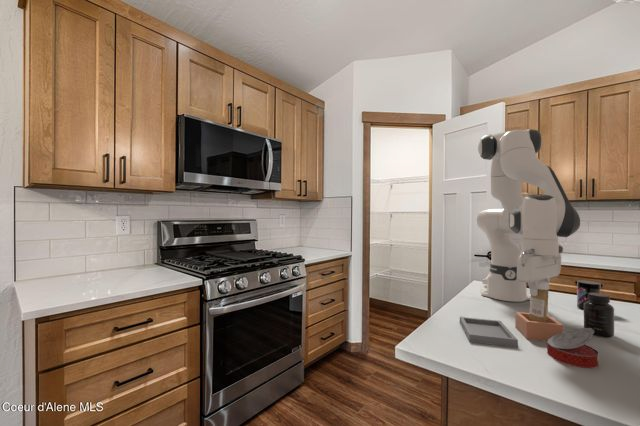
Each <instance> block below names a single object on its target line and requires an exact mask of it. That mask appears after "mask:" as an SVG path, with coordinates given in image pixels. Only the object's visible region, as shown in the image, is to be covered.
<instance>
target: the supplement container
mask: <svg viewBox="0 0 640 426" xmlns="http://www.w3.org/2000/svg"><path fill="white" fill-rule="evenodd" d="M576 284H577V285H576V306H577V308H578V309H580V310H583V311H584V303H585V302H587V301H589V299H588V293H601V288H602V287H601V285H602V284H601V283H600V282H596V281H593V280H584V279H583V280H582V279H581V280H577V283H576Z"/></svg>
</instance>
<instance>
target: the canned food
mask: <svg viewBox="0 0 640 426" xmlns="http://www.w3.org/2000/svg"><path fill="white" fill-rule="evenodd" d="M593 333H594V330H593V329H592V328H584V327H582V328H574V329H571V330H565V331H563V332H562V333H558V334H556V335H554V336H552V337H551V338H550V339H548V341H546V342H547V343H546V344H547V346H546V347H547V348H546V353H547V355H548V356H549V357H550V358H552V359H554V360H556V361H558V362H560V363H564V364H566V365H569V366H572V367H577V368H584V369H593V368H598V366H599V352H598V350H597V349H595V348H594V347H592V346H590V345H588V342H590V340H592V336H594V335H593Z"/></svg>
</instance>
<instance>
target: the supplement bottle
mask: <svg viewBox="0 0 640 426" xmlns="http://www.w3.org/2000/svg"><path fill="white" fill-rule="evenodd" d="M588 299H589V301H587V302H585V303H584V310H583V328H592V329H593V330H594V333H593V335H592V336H595V337H600V338H606V339H607V338H613V337H614V336H615V308H614V306H613V305H612V304H610V302H611V300H610V296H609V294H605V293H601V292H600V293H588Z"/></svg>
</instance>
